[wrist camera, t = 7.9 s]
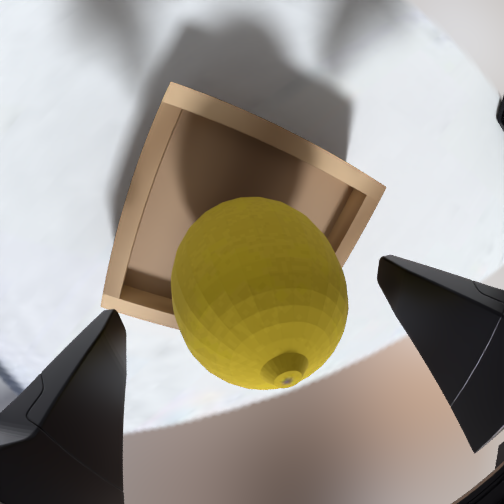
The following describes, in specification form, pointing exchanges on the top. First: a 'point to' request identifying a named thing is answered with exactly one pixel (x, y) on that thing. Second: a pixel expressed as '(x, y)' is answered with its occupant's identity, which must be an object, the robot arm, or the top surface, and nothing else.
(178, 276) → the lemon
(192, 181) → the tan open box
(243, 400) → the top surface
